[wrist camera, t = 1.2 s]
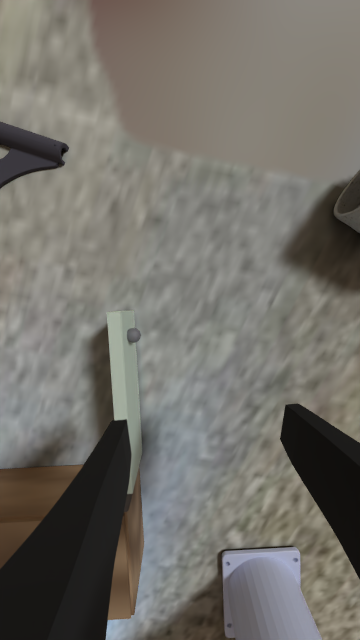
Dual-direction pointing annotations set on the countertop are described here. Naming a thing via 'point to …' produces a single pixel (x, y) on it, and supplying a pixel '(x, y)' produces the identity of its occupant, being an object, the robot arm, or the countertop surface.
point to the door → (126, 381)
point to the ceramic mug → (350, 204)
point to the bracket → (27, 152)
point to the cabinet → (38, 499)
